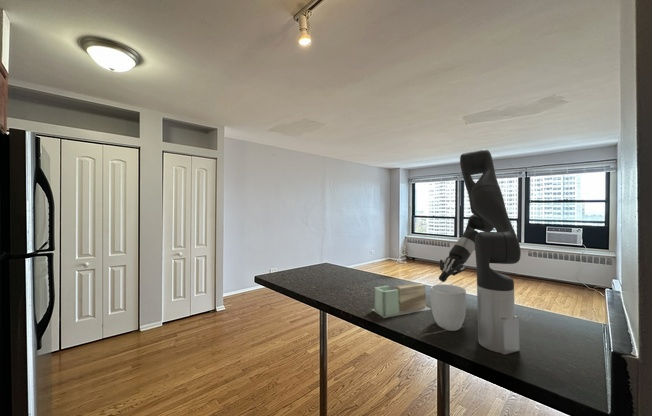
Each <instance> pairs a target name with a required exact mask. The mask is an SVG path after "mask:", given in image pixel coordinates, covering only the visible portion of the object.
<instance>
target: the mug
mask: <svg viewBox="0 0 652 416" xmlns="http://www.w3.org/2000/svg"><path fill="white" fill-rule="evenodd" d="M466 292H467V291H466V289H465V288H464V287H462V286H458V285H455V284H454V285H453V284H444V283H442V284H441V283H439V284H433V285H432V286H430V306H431V307H430V309H431V311H432V312H431V313H432V316H433V319H434V321H435V323H436V325H437V326H438V327H440V328H442V329H444V330H445V331H449V332H451V331H452V332H455V331H458V330H460V329H461V328H462V326H463V324H464V322H465V317H466V313H467V306H468V300H467V293H466Z"/></svg>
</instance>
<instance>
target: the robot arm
mask: <svg viewBox="0 0 652 416" xmlns="http://www.w3.org/2000/svg"><path fill="white" fill-rule="evenodd" d="M459 164H460V170H461V175H462V177H463V182H464V185H465V186H464V187H465V189H466V192H467V195H468V196H467V197H468V200H469V207H470V212H471V215H470V216H469V217H468V219H467V224H466V227H465V230H464V232H463V234H462V235H461V236H460V238H459V239H457V241H456V242H455V244H454V245H453V246H452V248H451V249H450V250H449V252H448V256H447V257H446V258H445V259H440V260H439V269H440V271H441V274H440V275H439V277H438V280H439V281H440V282H442V283H445V282H446V281H447V279H448V278H449V277H451V276H453V277H454V276H457V275H458V274H460V273H462V272H464V271H465V270H466V267H465V264H466V263H467V262H468V259H469V258H470V257H471V255H472V254H473V252H474V253H475V265H476V266H475V267H476V301H477V302H476V303H477V304H476V305H477V334H478V335H477V336H478V344H479V345H480V346H481V347H483V348H485V349H487V350H489V351H492V352H495V353H500V354H502V355H509V354H512V353H516V352H519V351H520V326H519V325H520V322H519V319H520V318H519V316H517V315H516V311H515V310H516V308H515V282H514V279H513V278H512V277H511V276H509V275H506V274H504V273H500V272H498V271H496V270H494V269H492V268H491V267H490V264H499V265H513V264H517V263H519V261H520V260H521V253H522V252H521V250H522V249H521V245H520V242H519V239H518V236H517V233H516V231H515V229H514V227H513V225H512V221H511V220H510V218H509V217H510V216H509V215H508V211H507V209H506V208H507V207H506V204H505V201H504V197H503V193H502V190H501V188H500V184H499V182H498V178H497V175H496V171H495V166H494V161H493V156H492V154H491V152H490V150H489V149H487V148H486V149H484V148H483V149H478V150H473V151H469V152H464V153H462V154H461V155H460V156H459ZM478 174H481V176H480V177H479V178H478V179H477V181H476V182H475V180H474V179H473V177H472V176H473V175H478ZM494 229H495V230H496V231H494Z"/></svg>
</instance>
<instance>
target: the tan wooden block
mask: <svg viewBox="0 0 652 416" xmlns="http://www.w3.org/2000/svg"><path fill="white" fill-rule="evenodd" d="M396 289H397V290H398V302H399V311H406V310H412V309H417V308H423V307H427V305H426V304H427V303H426V300H427V299H426V298H427V297H426V284H424V283H421V282H414V283H408V284H407V283H406V284H399V285H395V287H394V290H396Z"/></svg>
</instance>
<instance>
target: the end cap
mask: <svg viewBox="0 0 652 416" xmlns="http://www.w3.org/2000/svg"><path fill="white" fill-rule="evenodd" d="M373 294H374V297H373V298H374V299H373V300H374V301H373V302H374V308H373V309H375V311H377V312H378V313H380V314H381V315H383V316H388V315H394V314H399V302H398V290H397V289H396V290H395V289H391V288H390V285H383V286H375V287H374V288H373Z"/></svg>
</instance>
